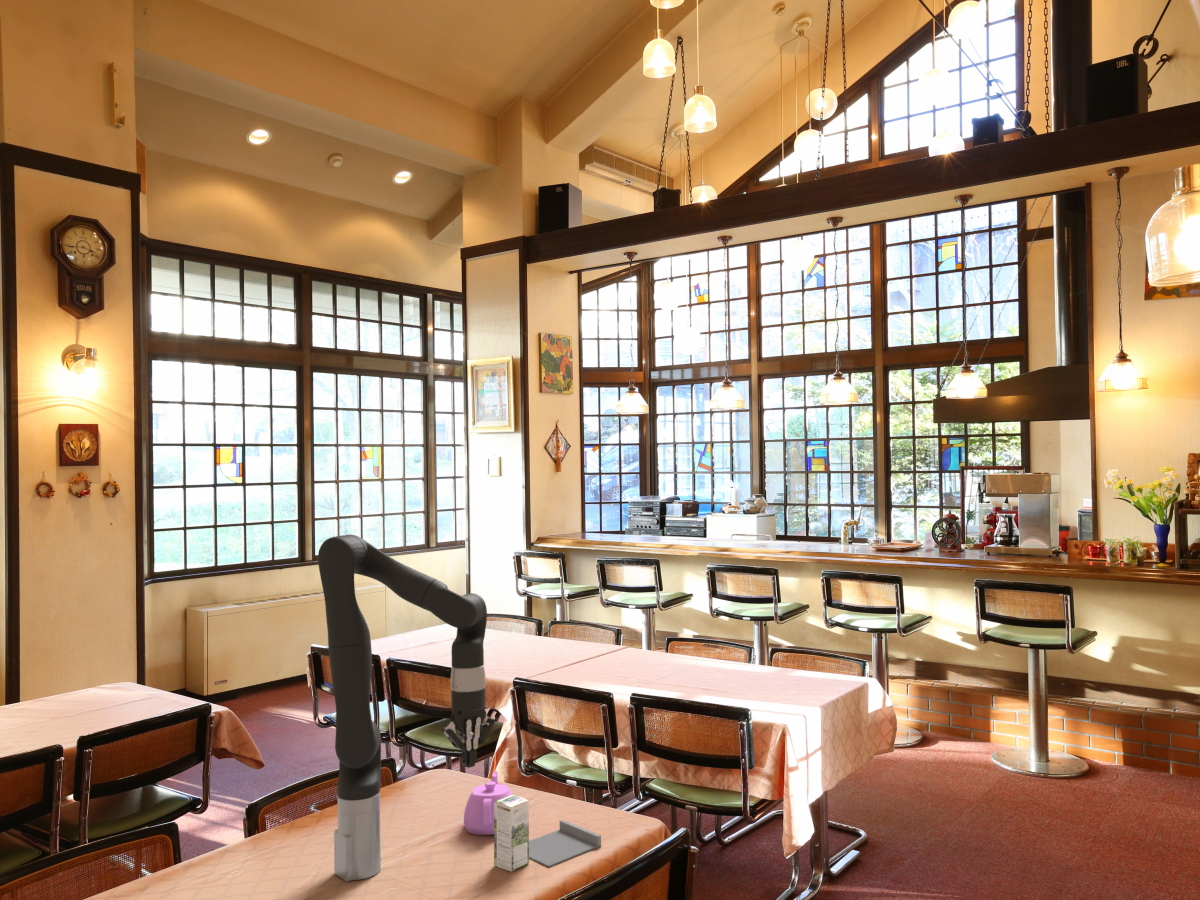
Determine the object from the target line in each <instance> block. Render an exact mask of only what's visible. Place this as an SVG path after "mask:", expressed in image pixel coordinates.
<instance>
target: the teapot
mask: <svg viewBox="0 0 1200 900" xmlns="http://www.w3.org/2000/svg"><path fill="white" fill-rule="evenodd" d="M498 774H499V773H498V771H493V772H492V775H491V781H486V782H485V783H484V784H481V785H477V786H475V787H474V788H473V789H472V791H471V793H470V795H469V797H468V799H467V801H466V804H465V808H464V814H463V825H464V827H465V830H467V832H468V833H470V834H472V835H473V834H474V835H483V836H485V835H486V836H490V835H492V836H494V802H496V801H498V800H501V799H503V798H505V797H508V796H510V795H513V793H512V790H511V789H510V787H509V786H508V785H506V784H500V783H499V780H498V778H499V776H498Z"/></svg>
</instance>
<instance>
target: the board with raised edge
mask: <svg viewBox="0 0 1200 900" xmlns="http://www.w3.org/2000/svg"><path fill="white" fill-rule="evenodd" d="M600 846H601V847H602V834H601V835H600V834H598V833H596V832H593V831H590V830H588V829H587V828H583V827H581V826H579V825H577V824H573V823H571V822H569V821H567V820H564V819H561V820H559V829H557V830H555V831H552V832H550V833H547V834H544V835H541V836H539V837H536V838H534V839H531V840H530V839H529V860H532V861H535V862H537V863H538V864H540V865H543V866H545V867H547V868H551V867H554V866H557V865H558V864H561V863H563V862H566V861H568V860H571V859H573V858H576V857H579V856H580V855H581V856H582V855H584V854H586V853H588V852H590V850H591V851H593V850H596V849H599V848H600ZM585 852H586V853H585ZM578 855H579V856H578Z"/></svg>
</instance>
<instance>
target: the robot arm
mask: <svg viewBox="0 0 1200 900" xmlns="http://www.w3.org/2000/svg"><path fill="white" fill-rule="evenodd" d="M317 563H318V565H317V566H318V571H319V575H320V581H321V586H322V591H323V598H324V605H325V618H326V628H327V644H328V645H327V646H328V647H327V648H328V659H329V666H330V667H329V668H330V675H331V684H332V689H333V696H334V703H335V738H334V739H335V745H334V748H335V754H336V757H337V758H338V759H337V760H339V761H338V762H339V767H338V768H339V769H338V779H337V787H336V789H337V828H336V829H335V830H334V831H333V839H334V840H333V843H334V844H333V845H334V846H333V847H334V848H333V851H334V853H333V855H334V859H333V861H334V867H333V868H334V874H335V875H336V876H338V877H339V878H341V879H342V880H344V881H345V882H351V881H359V880H365V879H369V878H371V877H373V876H375V875H377V874H378V873H379V872H380V871H381V868H382V867H381V866H382V864H381V861H382V857H381V855H382V854H381V851H382V850H381V849H382V847H381V846H382V845H381V776H382V774H381V773H382V739H381V738H382V736H381V731H380V729H379V727H378V725H377V723H375V722H374V721H373V720H372V711H371V706H370V705H371V704H370V702H371V701H370V699H371V698H370V696H371V687H372V685H371V684H372V673H373V672H372V671H373V670H372V669H373V655H372V654H373V652H372V642H371V641H372V640H371V634H370V633H371V632H370V630H369V629H370V628H369V626H368V624H367V621H366V618H365V617H364V614H363V612H362V611H361V609H360V607H359V603H358V601H357V598H356V597H357V596H356V590H355V589H356V588H355V587H356V586H355V575H360V576H363V577H367V578H370V579H374V580H376V581H378V582H379V583H381V584H383V585H384V586H386V588H388V589H389V590H390V591H392V592H393V593H394V594H395V595H397V596H398V597H399V598H401V599H403V600H404V601H406V602H409V603H410V604H412V605H413V606H414V605H415V606H416V607H419V608H421V609H423V610H425V611H428V612H430V613H432V614H433V615H434V616H435V617H436V618H438V619H439V620H441V621H442V622H444V623H445V624H447V625H449V626H451V627H453V628H456V636H455V639H454V640H453V642H452V644H451V651H450V652H451V671H450V707H451V710H452V713H451V717H450V722H449V724H447V726H443V727H442V728H441V733H443V735H444V736H445V737H446V739H447V740H448V741H449V742H450V743H451V745H452V746H453V747H454V748H455V749H459V750H461V763H462V765H463V766H464V767H465V768H467V769H470V768H472V767H476V766H475V765H476V764H477V760H478V759H477V749H478V747H479V746H480V745H483V744H485V742H486V740H487V738H488V736H489V734H490V732H491V730H492V728H493V727H494V725H495V722H496V720H495V718H493V717H489V716H488V715H487V711H486V709H485V708H486V704H487V702H486V701H487V700H486V699H487V698H486V697H487V695H486V693H487V692H486V672H485V662H484V661H485V660H484V659H485V657H484V652H485V651H484V640H485V636H486V629H487V623H488V608H487V604H486V601H485V600H484V599H483V598H482V596H481V595H479V594H477V593H472V592H471V593H465V594H462V595H461V594H458V593H457V592H454V591H452V590H450V589H449V588H448V585H447V584H445V582H443V581H441V580H439V579H437V578H434V577H432V576H430V575H427V574H426V573H424V572H420V571H418V570H417V569H414V568H412V567H410V566H408V565H406V564H404V563H402V562H400V561H399V560H396V559H395V558H393V557H391V556H389V555H388V554H386V553H384V552H383V551H381V550H380V549H378V548H377V547H376V546H374V545H373V544H372V543H370V542H368V541H367V540H365V539H364V538H361V537H360V536H358V535H355V534H343V535H337V536H332V537H330V538H327V539H325V540H324V541H323V542H322V544H320V547H319V549H318V554H317ZM456 733H458V735H457V734H456Z"/></svg>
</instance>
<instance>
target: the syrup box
mask: <svg viewBox="0 0 1200 900" xmlns="http://www.w3.org/2000/svg"><path fill="white" fill-rule="evenodd" d="M529 802H530V801H529V800H528V799H526V798H524V797H522V796H518V795H514V794H512V795H510V796H508V797H505V798H503V799H501V800H498V801H496V802H494V834H493V845H494V846H493V855H494V856H493V860H494V861H493V865H494V866H495V867H496V868H499V869H503V870H504V871H508V872H511V873H512V872H515V871H516V870H518V869H520V868H523V867H524V866H526V865H528V864H529V863H530V858H529V841H530V813H529V812H530V809H529V808H530V807H529V806H530V804H529Z"/></svg>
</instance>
